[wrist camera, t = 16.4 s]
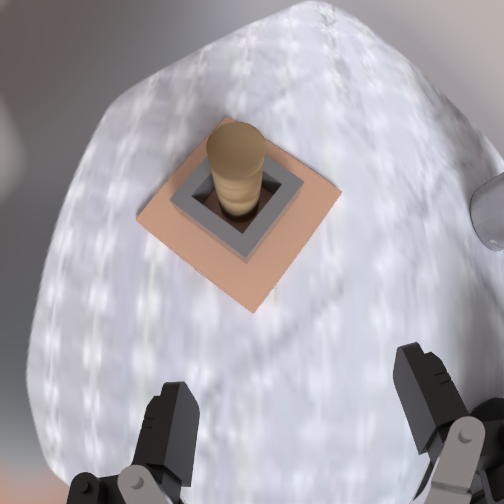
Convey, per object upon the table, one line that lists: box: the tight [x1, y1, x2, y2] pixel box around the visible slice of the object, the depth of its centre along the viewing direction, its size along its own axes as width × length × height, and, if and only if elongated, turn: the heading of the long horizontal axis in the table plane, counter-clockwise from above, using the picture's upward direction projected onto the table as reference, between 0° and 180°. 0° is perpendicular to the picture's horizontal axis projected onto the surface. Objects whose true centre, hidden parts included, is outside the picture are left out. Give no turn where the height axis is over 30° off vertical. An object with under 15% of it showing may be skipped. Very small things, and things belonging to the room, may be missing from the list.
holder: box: [136, 117, 342, 314], centre depth 30 cm, size 16×16×5 cm
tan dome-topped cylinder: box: [206, 122, 265, 223], centre depth 26 cm, size 4×4×12 cm
